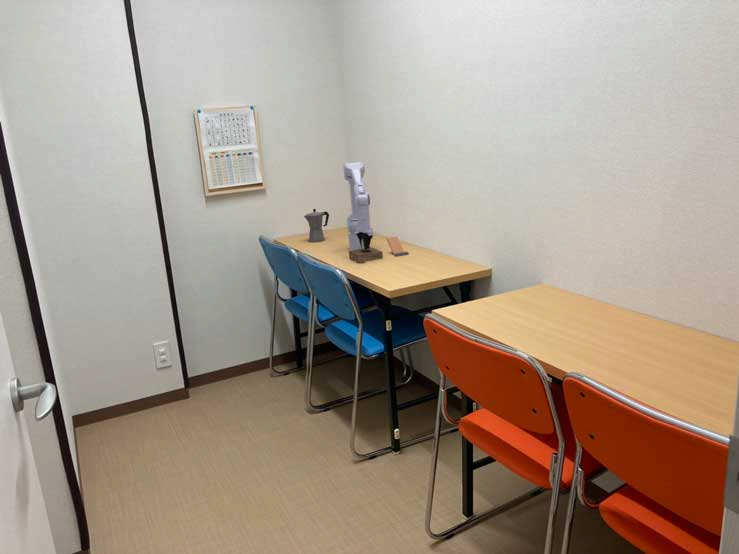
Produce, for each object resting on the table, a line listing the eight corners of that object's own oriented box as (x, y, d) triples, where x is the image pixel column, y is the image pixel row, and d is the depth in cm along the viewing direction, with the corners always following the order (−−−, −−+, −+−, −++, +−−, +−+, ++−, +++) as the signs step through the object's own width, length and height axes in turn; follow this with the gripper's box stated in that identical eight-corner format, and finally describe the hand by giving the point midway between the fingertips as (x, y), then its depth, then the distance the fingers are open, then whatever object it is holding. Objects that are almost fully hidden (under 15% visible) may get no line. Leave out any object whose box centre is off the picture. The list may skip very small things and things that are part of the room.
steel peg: (361, 254, 279) (360, 238, 277) (367, 253, 280) (366, 237, 278) (364, 255, 276) (363, 239, 274) (370, 254, 278) (369, 238, 275)
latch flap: (386, 239, 285) (387, 237, 284) (396, 237, 288) (397, 236, 287) (394, 257, 281) (395, 255, 280) (404, 255, 283) (405, 253, 282)
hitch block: (349, 258, 282) (348, 250, 281) (371, 255, 286) (371, 247, 285) (359, 263, 271) (359, 255, 270) (382, 259, 276) (382, 251, 275)
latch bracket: (394, 257, 279) (394, 253, 279) (406, 255, 282) (406, 251, 282) (396, 258, 278) (396, 254, 277) (408, 255, 281) (408, 252, 280)
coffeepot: (310, 243, 321) (307, 211, 316) (302, 241, 329) (299, 209, 324) (334, 239, 329) (332, 207, 324) (326, 237, 337) (324, 206, 332)
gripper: (378, 220, 269) (379, 249, 273) (364, 216, 282) (366, 244, 285) (364, 222, 266) (366, 251, 270) (351, 218, 279) (353, 246, 282)
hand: (365, 248), depth 277 cm, fingers closed on steel peg, 3 cm apart
